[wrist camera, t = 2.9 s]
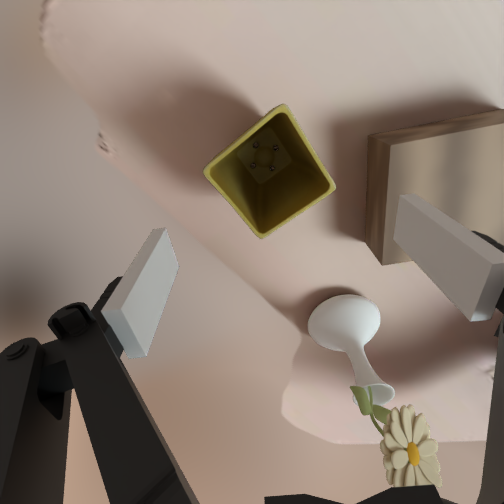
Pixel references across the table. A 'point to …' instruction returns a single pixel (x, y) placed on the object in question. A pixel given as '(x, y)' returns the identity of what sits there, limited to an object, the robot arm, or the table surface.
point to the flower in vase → (377, 391)
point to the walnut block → (437, 177)
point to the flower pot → (270, 173)
